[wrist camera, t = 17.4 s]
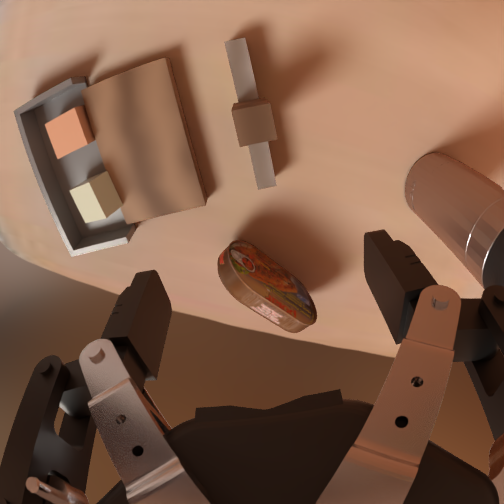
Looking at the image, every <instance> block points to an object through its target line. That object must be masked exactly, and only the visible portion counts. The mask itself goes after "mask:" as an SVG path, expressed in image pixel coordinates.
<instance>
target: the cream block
mask: <svg viewBox="0 0 504 504" xmlns="http://www.w3.org/2000/svg"><path fill="white" fill-rule="evenodd" d="M69 191H70V193H71V195H72V197H73V199H74V201H75V203H76V205H77V207H78V209H79V211H80V213H81V215H82V217H83V219H84V221H85V223H88V222H93V221H97V220H101V219H106V218H108V217H109V216H110V215H111V214H113V213H114V212H115V211H116V210H118V209H119V208H120V207H121V206H123V204H122V202H121V200H120V198H119V195H118V193H117V191H116V189H115V187H114V185H113V182H112V180H111V178H110V176H109V174H108V171H105V172H103V173H100V174H98V175H95V176H93V177H91V178H88V179H86V180H84V181H83V182H81V183H80V184H78V185H77V186H75V187H74V188H72V189H71V190H69Z"/></svg>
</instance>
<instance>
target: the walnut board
mask: <svg viewBox="0 0 504 504" xmlns="http://www.w3.org/2000/svg"><path fill="white" fill-rule="evenodd" d="M81 93H82V97H83V100H84V104H85V107H86V110H87V114H88V117H89V120H90V124H91V127H92V130H93V133H94V136H95V139H96V142H97V146H98V149H99V151H100V154H101V157H102V160H103V163H104V166H105V169H106V171H108V174H109V176H110V178H111V180H112V182H113V185H114V187H115V189H116V191H117V193H118V195H119V198H120V200H121V202H122V204H123V206H121V207H120V209H121V211H122V214H123V216H124V219H125V221H126V224H131V223H135V222H139V221H143V220H147V219H151V218H155V217H159V216H163V215H167V214H171V213H175V212H180V211H184V210H188V209H192V208H197V207H201V206H206V202H207V195H206V192H205V188H204V185H203V181H202V178H201V174H200V171H199V167H198V164H197V160H196V157H195V153H194V149H193V146H192V142H191V139H190V135H189V131H188V128H187V124H186V120H185V116H184V113H183V109H182V105H181V102H180V98H179V94H178V90H177V86H176V82H175V79H174V75H173V71H172V67H171V63H170V59H169V58H166V57H165V58H161V59H158V60H155V61H152V62H150V63H147V64H144V65H141V66H138V67H136V68H133V69H130V70H128V71H125V72H122V73H120V74H117V75H115V76H113V77H110V78H108V79H105V80H103V81H101V82H98V83H96V84H94V85H92V86H90V87H87V88H85V89H83V90H81Z"/></svg>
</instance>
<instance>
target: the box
mask: <svg viewBox="0 0 504 504" xmlns="http://www.w3.org/2000/svg"><path fill="white" fill-rule="evenodd" d="M87 87H88V85H87V81H86V77H85V76H83V77H74V78H69V79H67V80H66V81H64V82H62V83H60V84H58V85H56V86H54V87H53V88H51V89H49V90H47V91H46V92H44V93H42V94H40V95H39V96H37V97H35V98H34V99H32V100H30V101H29V102H27V103H26V104H24V105H22V106H21V107H19V108H18V109H16V110H15V111H14V114H15V117H16V121H17V124H18V128H19V131H20V134H21V137H22V140H23V143H24V146H25V149H26V152H27V155H28V158H29V161H30V164H31V166H32V169H33V172H34V174H35V177H36V179H37V182H38V185H39V187H40V190H41V192H42V194H43V197H44V199H45V202H46V204H47V206H48V209H49V211H50V213H51V215H52V218H53V220H54V222H55V224H56V226H57V228H58V231H59V233H60V235H61V237H62V239H63V241H64V243H65V245H66V247H67V249H68V251H69V253H70V255H71V257H73V256H77V255H81V254H85V253H89V252H93V251H97V250H101V249H105V248H109V247H113V246H117V245H121V244H126V243H129V241H130V239H131V237H132V236H133V234H134V232H135V231H136V227H135V224H134V223H131V224H126V221H125V219H124V216H123V214H122V211H121V209H120V208H119V209H118V210H116V211H115V212H114V213H113V214H111V215H110V216H109V217H108V218H106V219H101V220H97V221H93V222H88V223H85V221H84V219H83V217H82V215H81V213H80V211H79V209H78V207H77V205H76V203H75V201H74V199H73V197H72V195H71V193H70V191H69V190H71V189H72V188H74V187H75V186H77V185H78V184H80V183H81V182H83V181H84V180H86V179H88V178H91V177H93V176H95V175H98V174H100V173H103V172H105V171H106V169H105V166H104V163H103V160H102V157H101V154H100V151H99V149H98V146H97V142H96V140H95V141H93V142H91V143H89V144H88V145H85V146H83V147H81V148H79V149H77V150H75V151H73V152H71V153H69V154H67V155H65V156H63V157H61V158H59V159H57V156H56V154H55V151H54V148H53V146H52V143H51V140H50V138H49V135H48V132H47V130H46V127H45V124H46V123H48V122H50V121H51V120H53V119H55V118H57V117H58V116H60V115H62V114H64V113H65V112H67V111H69V110H71V109H73V108H75V107H78V106H82V105H85V104H84V100H83V97H82V93H81V90H83V89H85V88H87Z"/></svg>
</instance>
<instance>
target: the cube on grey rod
mask: <svg viewBox="0 0 504 504" xmlns="http://www.w3.org/2000/svg"><path fill="white" fill-rule="evenodd" d="M225 47H226V51H227V55H228V59H229V63H230V68H231V72H232V76H233V80H234V85H235V89H236V93H237V97H238V102H239V103H234V104H233V107H232V115H233V120H234V124H235V128H236V132H237V137H238V141H239V145H240V147H242V146H247V145H248V146H249V150H250V155H251V159H252V164H253V169H254V173H255V178H256V182H257V187H258V189H263V188H268V187H273V186H277V185H276V180H275V175H274V170H273V165H272V160H271V154H270V149H269V144H268V141H272V140H278V139H277V134H276V129H275V124H274V119H273V114H272V109H271V104H270V102H268V101H267V100H266V99H265V98H259V97H258V92H257V87H256V83H255V78H254V74H253V70H252V65H251V61H250V56H249V52H248V48H247V44H246V39H245V38H240V39H235V40H230V41H226V42H225Z"/></svg>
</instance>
